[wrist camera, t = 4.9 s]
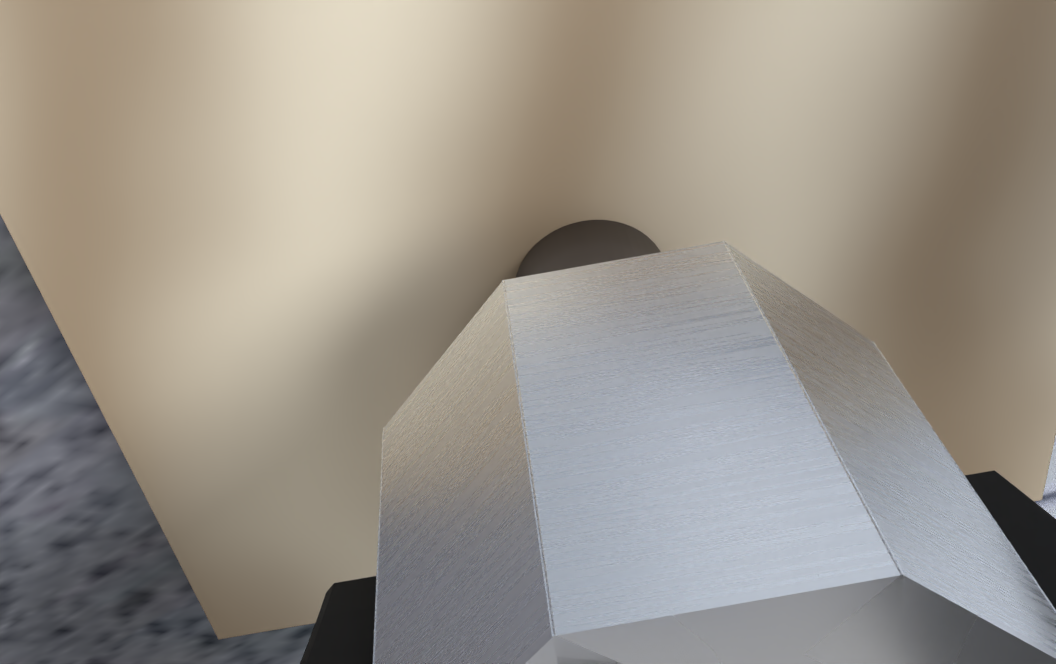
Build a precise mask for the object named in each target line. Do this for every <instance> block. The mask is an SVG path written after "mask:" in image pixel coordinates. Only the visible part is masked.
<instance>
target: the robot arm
mask: <svg viewBox="0 0 1056 664" xmlns="http://www.w3.org/2000/svg"><path fill="white" fill-rule="evenodd" d="M965 477H966V478H967V480H968V481H969V483H970V484H971V486H972V487H973V489H974V490H975V492H976V493H977V494H978V496H979V497H980V499H981V500H982V502H983V503H984V505H985V506H986V508H987V509H988V511H989V512H990V514H991V515H992V517H993V518H994V520H995V521H996V523H997V524H998V525H999V527H1000V528H1001V530H1002V531H1003V533H1004V534H1005V536H1006V537H1007V539H1008V540H1009V542H1010V543H1011V545H1012V546H1013V548H1014V549H1015V551H1016V552H1017V554H1018V555H1019V556H1020V558H1021V559H1022V561H1023V562H1024V564H1025V565H1026V567H1027V568H1028V570H1029V571H1030V573H1031V574H1032V576H1033V577H1034V579H1035V580H1036V582H1037V583H1038V585H1039V586H1040V587H1041V589H1042V590H1043V592H1044V593H1045V595H1046V596H1047V598H1048V599H1049V601H1050V602H1051V604H1052V605H1053V607H1054V608H1055V610H1056V519H1055V518H1054V517H1052V516H1051V515H1050V514H1049V513H1048V512H1046V511H1045V510H1044V509H1043V508H1041V507H1040V506H1039V505H1038V504H1036V503H1035V502H1034V501H1033V500H1031V499H1030V498H1029V497H1028V496H1026V495H1025V494H1024V493H1023V492H1022V491H1020V490H1019V489H1018V488H1017V487H1015V486H1014V485H1013V484H1011V483H1010V482H1009V481H1008V480H1006V479H1005V478H1004V477H1003V476H1001V475H1000V474H999V473H997V472H996V471H995V470H993V471H987V472H982V473H976V474H970V475H965ZM375 598H376V576H372V577H367V578H361V579H355V580H349V581H343V582H337V583H334V584H333V585H332V586H331V587H330V588H329V590H328V591H327V592H326V594H325V597H324V600H323V603H322V606H321V609H320V612H319V615H318V617H317V620H316V623H315V626H314V628H313V631H312V634H311V637H310V639H309V642H308V645H307V647H306V650H305V652H304V655H303V658H302V660H301V663H300V664H373V644H374V621H375Z"/></svg>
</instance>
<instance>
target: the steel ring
mask: <svg viewBox="0 0 1056 664" xmlns="http://www.w3.org/2000/svg"><path fill="white" fill-rule="evenodd" d="M373 664H1056V610H1055V608H1054V607H1053V605H1052V604H1051V602H1050V601H1049V599H1048V598H1047V596H1046V595H1045V593H1044V592H1043V590H1042V589H1041V587H1040V586H1039V585H1038V583H1037V582H1036V580H1035V579H1034V577H1033V576H1032V574H1031V573H1030V571H1029V570H1028V568H1027V567H1026V565H1025V564H1024V562H1023V561H1022V559H1021V558H1020V556H1019V555H1018V554H1017V552H1016V551H1015V549H1014V548H1013V546H1012V545H1011V543H1010V542H1009V540H1008V539H1007V537H1006V536H1005V534H1004V533H1003V531H1002V530H1001V528H1000V527H999V525H998V524H997V523H996V521H995V520H994V518H993V517H992V515H991V514H990V512H989V511H988V509H987V508H986V506H985V505H984V503H983V502H982V500H981V499H980V497H979V496H978V494H977V493H976V492H975V490H974V489H973V487H972V486H971V484H970V483H969V481H968V480H967V478H966V477H965V475H964V474H963V472H962V471H961V469H960V468H959V466H958V465H957V464H956V462H955V461H954V459H953V458H952V456H951V455H950V453H949V452H948V450H947V449H946V447H945V446H944V444H943V443H942V441H941V440H940V438H939V437H938V435H937V434H936V433H935V431H934V430H933V428H932V427H931V425H930V424H929V422H928V421H927V419H926V418H925V416H924V415H923V413H922V412H921V410H920V409H919V407H918V406H917V404H916V403H915V402H914V400H913V399H912V397H911V396H910V394H909V393H908V391H907V390H906V388H905V387H904V385H903V384H902V382H901V381H900V379H899V378H898V376H897V375H896V373H895V372H894V371H893V369H892V368H891V366H890V365H889V363H888V362H887V360H886V359H885V357H884V356H883V354H882V353H881V351H880V350H879V348H878V347H877V345H876V344H875V342H874V341H871V340H870V339H868V338H867V337H865V336H864V335H862V334H861V333H860V332H858V331H857V330H855V329H854V328H852V327H851V326H849V325H848V324H846V323H845V322H843V321H842V320H840V319H839V318H837V317H836V316H834V315H833V314H831V313H830V312H828V311H827V310H825V309H824V308H823V307H821V306H820V305H818V304H817V303H815V302H814V301H812V300H811V299H809V298H808V297H806V296H805V295H803V294H802V293H800V292H799V291H797V290H796V289H794V288H793V287H791V286H790V285H788V284H787V283H786V282H784V281H783V280H781V279H780V278H778V277H777V276H775V275H774V274H772V273H771V272H769V271H768V270H766V269H765V268H763V267H762V266H760V265H759V264H757V263H756V262H754V261H753V260H751V259H750V258H748V257H747V256H746V255H744V254H743V253H741V252H740V251H738V250H737V249H735V248H734V247H732V246H731V245H729V244H728V243H726V241H721V242H715V243H710V244H704V245H698V246H693V247H687V248H681V249H676V250H670V251H665V252H659V253H653V254H648V255H642V256H636V257H631V258H625V259H619V260H614V261H608V262H603V263H597V264H591V265H586V266H580V267H574V268H569V269H563V270H557V271H552V272H546V273H541V274H535V275H529V276H524V277H518V278H512V279H507V280H502V282H501V283H500V285H499V286H498V287H497V288H496V290H495V291H494V292H493V293H492V294H491V296H490V297H489V298H488V299H487V301H486V302H485V303H484V304H483V306H482V307H481V308H480V309H479V311H478V312H477V313H476V314H475V316H474V317H473V318H472V319H471V320H470V322H469V323H468V324H467V325H466V327H465V328H464V329H463V330H462V332H461V333H460V334H459V335H458V337H457V338H456V339H455V340H454V342H453V343H452V344H451V345H450V346H449V348H448V349H447V350H446V351H445V353H444V354H443V355H442V356H441V358H440V359H439V360H438V361H437V363H436V364H435V365H434V366H433V368H432V369H431V370H430V371H429V372H428V374H427V375H426V376H425V377H424V379H423V380H422V381H421V382H420V384H419V385H418V386H417V387H416V389H415V390H414V391H413V392H412V394H411V395H410V396H409V397H408V399H407V400H406V401H405V402H404V403H403V405H402V406H401V407H400V408H399V410H398V411H397V412H396V413H395V415H394V416H393V417H392V418H391V420H390V421H389V422H388V423H387V425H386V426H385V427H384V428H383V434H382V458H381V481H380V504H379V528H378V551H377V574H376V598H375V621H374V644H373Z"/></svg>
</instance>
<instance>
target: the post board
mask: <svg viewBox="0 0 1056 664" xmlns="http://www.w3.org/2000/svg"><path fill="white" fill-rule="evenodd" d="M0 214H1V216H2V218H3V220H4V222H5V224H6V226H7V228H8V230H9V232H10V234H11V236H12V238H13V240H14V242H15V244H16V246H17V248H18V249H19V251H20V253H21V255H22V257H23V259H24V261H25V263H26V265H27V267H28V269H29V271H30V273H31V275H32V277H33V279H34V281H35V283H36V285H37V287H38V288H39V290H40V292H41V294H42V296H43V298H44V300H45V302H46V304H47V306H48V308H49V310H50V312H51V314H52V316H53V318H54V320H55V322H56V324H57V325H58V327H59V329H60V331H61V333H62V335H63V337H64V339H65V341H66V343H67V345H68V347H69V349H70V351H71V353H72V355H73V357H74V359H75V361H76V363H77V364H78V366H79V368H80V370H81V372H82V374H83V376H84V378H85V380H86V382H87V384H88V386H89V388H90V390H91V392H92V394H93V396H94V398H95V400H96V402H97V403H98V405H99V407H100V409H101V411H102V413H103V415H104V417H105V419H106V421H107V423H108V425H109V427H110V429H111V431H112V433H113V435H114V437H115V439H116V440H117V442H118V444H119V446H120V448H121V450H122V452H123V454H124V456H125V458H126V460H127V462H128V464H129V466H130V468H131V470H132V472H133V474H134V476H135V478H136V479H137V481H138V483H139V485H140V487H141V489H142V491H143V493H144V495H145V497H146V499H147V501H148V503H149V505H150V507H151V509H152V511H153V513H154V515H155V517H156V518H157V520H158V522H159V524H160V526H161V528H162V530H163V532H164V534H165V536H166V538H167V540H168V542H169V544H170V546H171V548H172V550H173V552H174V554H175V555H176V557H177V559H178V561H179V563H180V565H181V567H182V569H183V571H184V573H185V575H186V577H187V579H188V581H189V583H190V585H191V587H192V589H193V591H194V593H195V594H196V596H197V598H198V600H199V602H200V604H201V606H202V608H203V610H204V612H205V614H206V616H207V618H208V620H209V622H210V624H211V626H212V628H213V630H214V632H215V633H216V635H217V637H218V639H224V638H230V637H236V636H242V635H247V634H253V633H259V632H265V631H271V630H277V629H283V628H289V627H295V626H301V625H306V624H312V623H316V620H317V617H318V615H319V612H320V609H321V606H322V603H323V600H324V597H325V594H326V592H327V591H328V590H329V588H330V587H331V586H332V585H333V584H334V583H337V582H343V581H349V580H355V579H361V578H367V577H372V576H376V574H377V551H378V528H379V504H380V481H381V458H382V434H383V428H384V427H385V426H386V425H387V423H388V422H389V421H390V420H391V418H392V417H393V416H394V415H395V413H396V412H397V411H398V410H399V408H400V407H401V406H402V405H403V403H404V402H405V401H406V400H407V399H408V397H409V396H410V395H411V394H412V392H413V391H414V390H415V389H416V387H417V386H418V385H419V384H420V382H421V381H422V380H423V379H424V377H425V376H426V375H427V374H428V372H429V371H430V370H431V369H432V368H433V366H434V365H435V364H436V363H437V361H438V360H439V359H440V358H441V356H442V355H443V354H444V353H445V351H446V350H447V349H448V348H449V346H450V345H451V344H452V343H453V342H454V340H455V339H456V338H457V337H458V335H459V334H460V333H461V332H462V330H463V329H464V328H465V327H466V325H467V324H468V323H469V322H470V320H471V319H472V318H473V317H474V316H475V314H476V313H477V312H478V311H479V309H480V308H481V307H482V306H483V304H484V303H485V302H486V301H487V299H488V298H489V297H490V296H491V294H492V293H493V292H494V291H495V290H496V288H497V287H498V286H499V285H500V283H501V282H502V280H507V279H512V278H518V277H524V276H529V275H535V274H541V273H546V272H552V271H557V270H563V269H569V268H574V267H580V266H586V265H591V264H597V263H603V262H608V261H614V260H619V259H625V258H631V257H636V256H642V255H648V254H653V253H659V252H665V251H670V250H676V249H681V248H687V247H693V246H698V245H704V244H710V243H715V242H721V241H726V243H728V244H729V245H731V246H732V247H734V248H735V249H737V250H738V251H740V252H741V253H743V254H744V255H746V256H747V257H748V258H750V259H751V260H753V261H754V262H756V263H757V264H759V265H760V266H762V267H763V268H765V269H766V270H768V271H769V272H771V273H772V274H774V275H775V276H777V277H778V278H780V279H781V280H783V281H784V282H786V283H787V284H788V285H790V286H791V287H793V288H794V289H796V290H797V291H799V292H800V293H802V294H803V295H805V296H806V297H808V298H809V299H811V300H812V301H814V302H815V303H817V304H818V305H820V306H821V307H823V308H824V309H825V310H827V311H828V312H830V313H831V314H833V315H834V316H836V317H837V318H839V319H840V320H842V321H843V322H845V323H846V324H848V325H849V326H851V327H852V328H854V329H855V330H857V331H858V332H860V333H861V334H862V335H864V336H865V337H867V338H868V339H870V340H871V341H874V342H875V344H876V345H877V347H878V348H879V350H880V351H881V353H882V354H883V356H884V357H885V359H886V360H887V362H888V363H889V365H890V366H891V368H892V369H893V371H894V372H895V373H896V375H897V376H898V378H899V379H900V381H901V382H902V384H903V385H904V387H905V388H906V390H907V391H908V393H909V394H910V396H911V397H912V399H913V400H914V402H915V403H916V404H917V406H918V407H919V409H920V410H921V412H922V413H923V415H924V416H925V418H926V419H927V421H928V422H929V424H930V425H931V427H932V428H933V430H934V431H935V433H936V434H937V435H938V437H939V438H940V440H941V441H942V443H943V444H944V446H945V447H946V449H947V450H948V452H949V453H950V455H951V456H952V458H953V459H954V461H955V462H956V464H957V465H958V466H959V468H960V469H961V471H962V472H963V474H964V475H970V474H976V473H982V472H987V471H993V470H995V471H996V472H997V473H999V474H1000V475H1001V476H1003V477H1004V478H1005V479H1006V480H1008V481H1009V482H1010V483H1011V484H1013V485H1014V486H1015V487H1017V488H1018V489H1019V490H1020V491H1022V492H1023V493H1024V494H1025V495H1026V496H1028V497H1029V498H1030V499H1031V500H1033V501H1039V500H1042V497H1043V492H1044V487H1045V483H1046V478H1047V473H1048V468H1049V464H1050V459H1051V454H1052V449H1053V445H1054V440H1055V435H1056V0H0Z"/></svg>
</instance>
